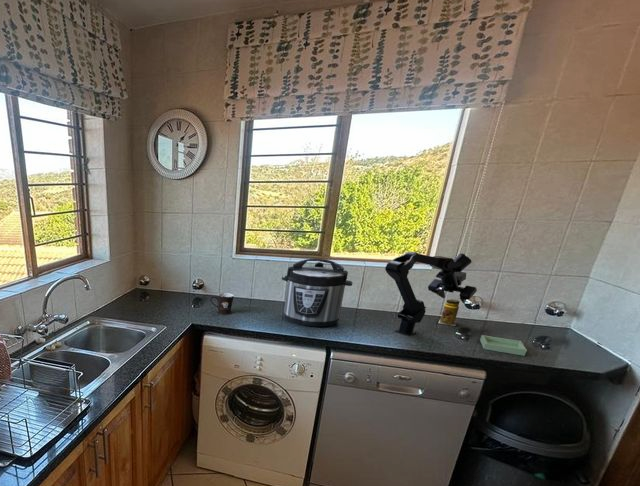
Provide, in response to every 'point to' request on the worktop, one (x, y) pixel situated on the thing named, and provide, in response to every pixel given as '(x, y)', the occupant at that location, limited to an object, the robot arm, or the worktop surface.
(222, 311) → the coffee mug
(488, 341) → the tray
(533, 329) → the worktop surface
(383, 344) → the worktop surface
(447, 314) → the condiment
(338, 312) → the pressure cooker
